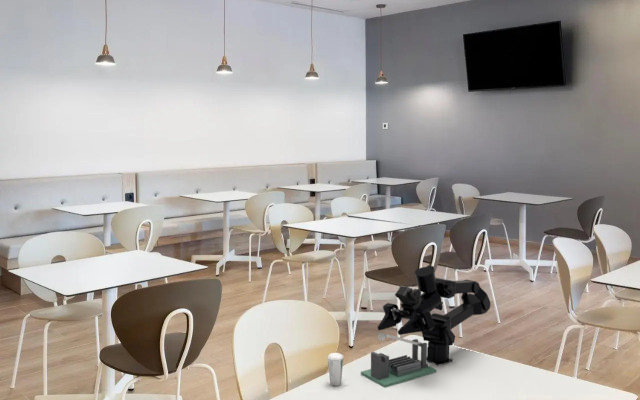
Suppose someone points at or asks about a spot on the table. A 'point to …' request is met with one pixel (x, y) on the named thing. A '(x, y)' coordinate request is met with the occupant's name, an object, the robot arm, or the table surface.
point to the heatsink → (403, 366)
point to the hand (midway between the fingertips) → (388, 331)
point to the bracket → (423, 354)
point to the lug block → (379, 365)
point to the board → (396, 380)
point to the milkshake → (335, 368)
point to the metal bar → (382, 338)
